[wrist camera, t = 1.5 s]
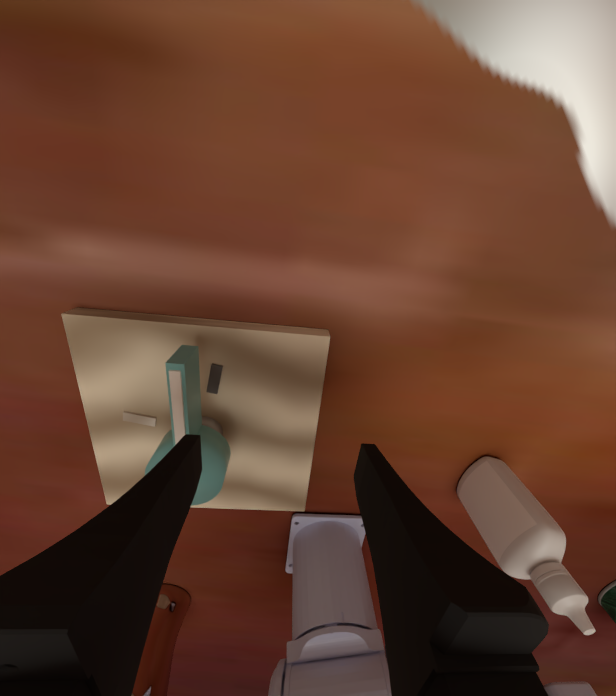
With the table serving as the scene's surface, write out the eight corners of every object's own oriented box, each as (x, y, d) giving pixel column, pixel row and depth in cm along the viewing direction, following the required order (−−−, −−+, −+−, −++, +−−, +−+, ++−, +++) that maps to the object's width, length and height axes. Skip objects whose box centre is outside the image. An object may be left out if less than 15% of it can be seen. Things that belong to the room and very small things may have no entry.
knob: (230, 477, 22) (222, 508, 20) (164, 474, 22) (148, 506, 20) (231, 348, 18) (221, 368, 16) (148, 342, 18) (125, 361, 15)
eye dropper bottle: (442, 478, 29) (533, 637, 18) (493, 448, 28) (624, 599, 17) (463, 500, 30) (559, 659, 19) (512, 473, 29) (646, 627, 18)
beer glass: (123, 588, 34) (7, 839, 20) (179, 576, 33) (98, 824, 20) (152, 618, 37) (67, 857, 23) (204, 607, 36) (148, 844, 22)
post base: (303, 497, 29) (305, 532, 26) (116, 490, 28) (92, 525, 24) (328, 329, 22) (333, 348, 19) (77, 307, 21) (36, 323, 17)
